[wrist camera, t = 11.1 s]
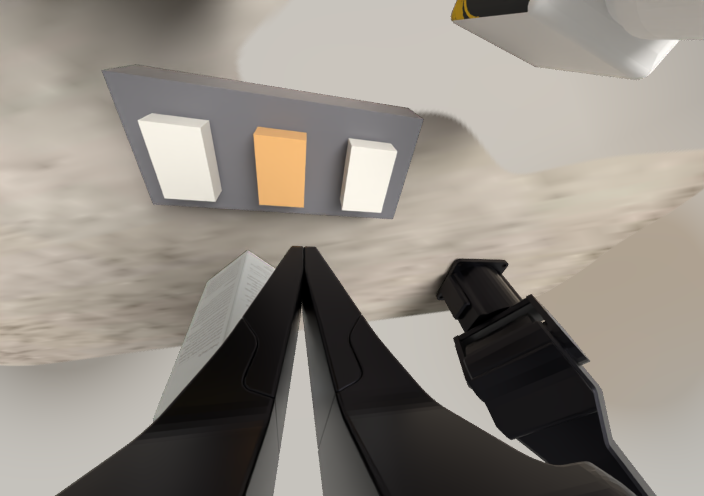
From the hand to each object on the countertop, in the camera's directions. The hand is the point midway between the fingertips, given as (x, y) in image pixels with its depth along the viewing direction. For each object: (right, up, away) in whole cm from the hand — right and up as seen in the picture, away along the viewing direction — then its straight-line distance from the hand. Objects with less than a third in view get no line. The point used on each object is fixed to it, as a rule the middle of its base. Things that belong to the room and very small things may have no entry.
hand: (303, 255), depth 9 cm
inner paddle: (+2, +5, +8) cm, 9 cm away
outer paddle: (-7, +6, +5) cm, 11 cm away
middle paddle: (-2, +5, +6) cm, 9 cm away
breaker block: (-3, +7, +9) cm, 12 cm away
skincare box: (-9, -2, +16) cm, 19 cm away
